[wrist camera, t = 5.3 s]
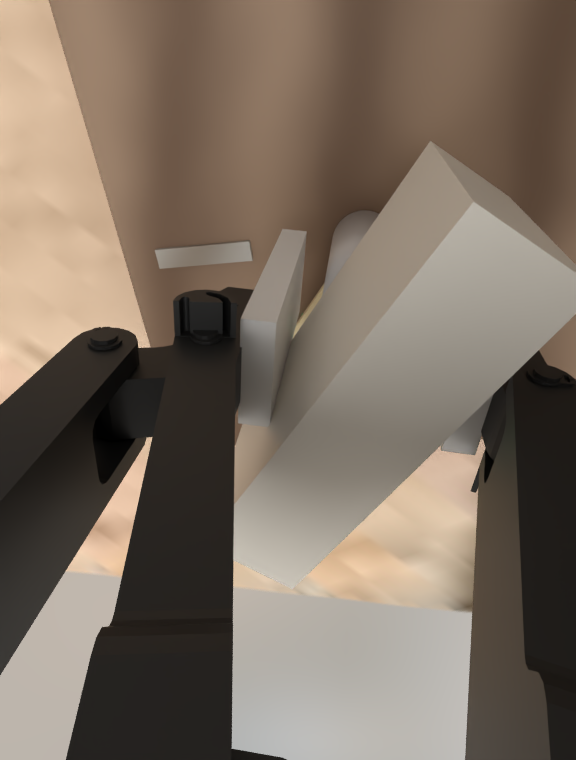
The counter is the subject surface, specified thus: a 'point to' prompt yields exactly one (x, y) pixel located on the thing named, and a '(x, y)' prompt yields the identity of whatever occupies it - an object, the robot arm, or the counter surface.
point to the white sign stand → (394, 358)
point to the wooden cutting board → (311, 125)
